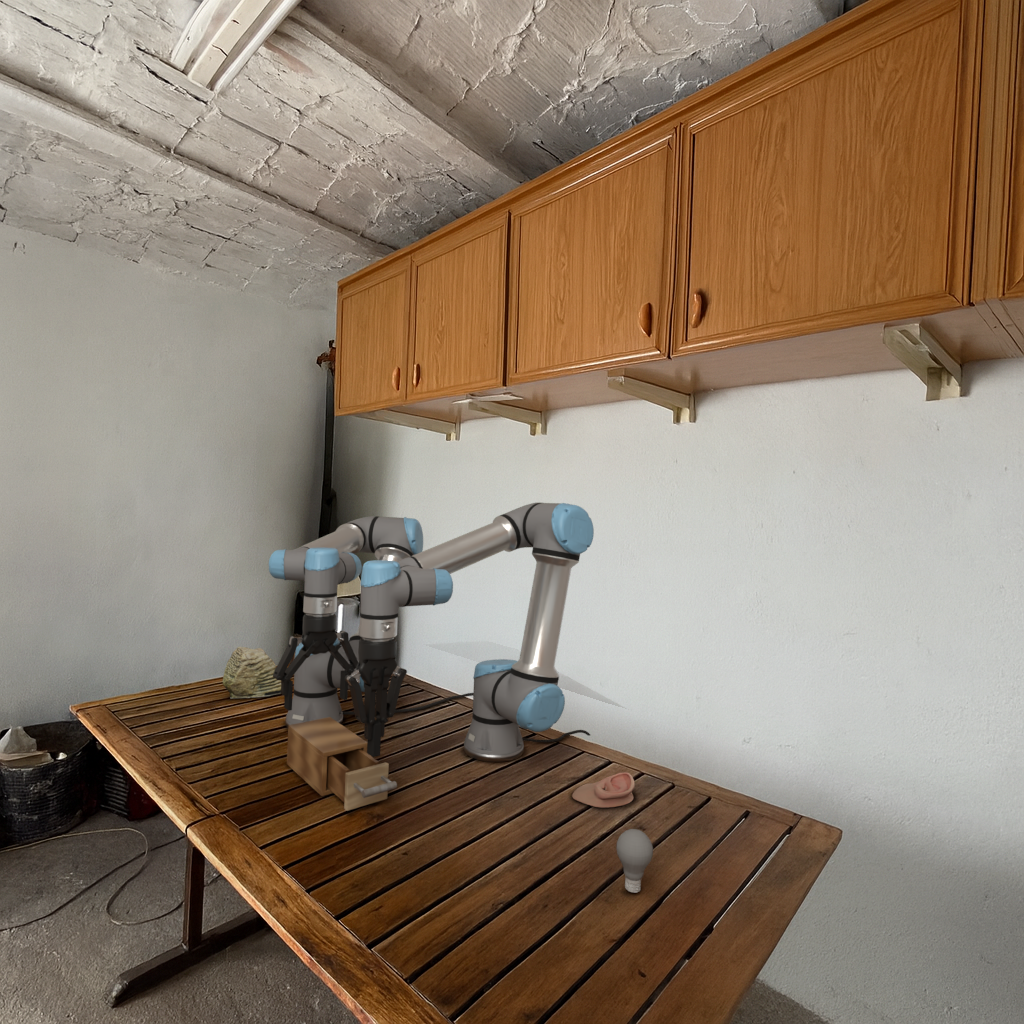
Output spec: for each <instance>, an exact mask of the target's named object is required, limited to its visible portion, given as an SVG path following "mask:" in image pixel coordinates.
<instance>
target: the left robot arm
mask: <svg viewBox="0 0 1024 1024" xmlns="http://www.w3.org/2000/svg"><path fill="white" fill-rule="evenodd" d="M423 551H424V533H423V527H422V524H421V523H420V521H419V520H418V519H416V518H410V517H407V516H404V517H397V516H396V517H394V516H378V515H371V516H363V517H359V518H356V519H354V520H353V519H352V520H350V521H348V522H345V523H343V524H341V525H339V526H338V527H337V528H336V530H335V531H333V532H331V533H329V534H326V535H324V536H322V537H319V538H317V539H314V540H313V541H310V542H307V543H305V544H303V545H301V546H299V547H297V548H294V549H287V548H286V549H276V550H274V551H273V552H272V553H271V555H270V557H269V560H268V572H269V574H270V575H271V577H272V578H274V579H276V580H284V581H299V582H304V592H303V608H302V612H303V613H304V614H303V616H302V634H301V636H293V635H289V637H288V640H287V646H286V648H285V650H284V651H283V654H282V656H281V658H280V660H279V662H278V663H277V665H276V669H275V671H274V673H273V677H274V678H275V679H277V680H281V693H280V695H282V696H283V698H284V699H283V701H284V702H283V708H284V709H285V710H287V713H286V715H285V726H286V728H288V725H292V724H297V723H302V722H307V721H312V720H317V719H322V718H327V717H331V718H332V719H334V720H335V721H337V722H338V723H340V724H341V725H342V723H343V722H344V716H348V715H349V716H351V715H352V716H353V715H354V716H355V713H354V711H343V709H342V706H341V702H340V699H341V700H343V701H348V697H349V695H348V694H349V691H350V687H349V685H348V683H347V682H346V680H345V676H346V675H351V674H352V673H354V672H355V671H356V667H357V665H358V662H359V657H358V651H359V640H360V639H361V638H362V637H360V636H359V626H360V623H359V625H358V628H357V631H356V633H354V634H352V635H350V636H349V633H348V632H347V631H345V630H340V631H339V632H336V631H337V630H336V629H337V615H336V614H335V613H336V612H337V609H338V588H339V587H338V585H343V584H348V583H351V582H352V581H355V580H356V579H357V578H358V577H359V576H360V574H362V569H363V565H362V561H361V559H360V558H359V556H358V555H356V554H357V553H366V554H374V557H375V558H376V560H388V561H396V562H398V561H400V560H402V559H405V558H408V557H410V556H413V555H415V554H418V553H420V552H423ZM293 657H294V658H293ZM292 659H293V660H292ZM292 678H293V680H291V679H292ZM389 680H391V677H390V678H389ZM359 685H360V688H361V692H362V693H365V688H364V681H363V679H362V678H361V677H360V683H359ZM338 690H339V695H338ZM471 696H472V697H473V692H468V693H464V694H463V693H462V694H458V695H451V696H449V697H445V698H442V699H440V700H437V701H433V702H431V703H428V704H426V705H421V706H417V707H410V708H399V709H395V713H394V714H397V713H407V712H409V713H410V712H415V711H421V710H426V709H428V708H431V707H433V706H437V705H439V704H442V703H446V702H448V701H451V700H454V699H455V700H456V699H462V698H465V697H467V698H468V697H471ZM339 698H340V699H339Z"/></svg>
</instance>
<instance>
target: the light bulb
mask: <svg viewBox="0 0 1024 1024" xmlns="http://www.w3.org/2000/svg"><path fill="white" fill-rule="evenodd" d="M615 849H616V854H617V857H618V859H619V861H620V863H621V865H622V867H623V873H624V874H623V875H624V876H625V878H624V888H625V890H627V891H628V892H630V893H634V894H635V893H639V892H640V891H641V889H642V887H641V886H642V879H643V877H644V875H645V871H646V868H647V867H648V866H649V864H650V863H651V861H652V859H653V855H654V847H653V843H652V841H651V838H649V836H648V835H647V834H646V833H645V832H643V831H642V830H641V829H636V828H629V829H627V830H625V831H623V832H622V833H621V834H620V835H619V837H618V839H617V841H616V847H615Z"/></svg>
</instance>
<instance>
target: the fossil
mask: <svg viewBox="0 0 1024 1024" xmlns="http://www.w3.org/2000/svg"><path fill="white" fill-rule="evenodd" d="M276 668H277V665H276V663H275V662H274V660H273V659H272V658H271V657H270V656H269V655H268V654H267V653H266V652H265V650H264V649H263V648H260V647H258V648H251V647H247V646H246V647H245V646H238V647H237V648H236V649H235V650H233V651H232V653H231V656H230V657H229V659H228V660H227V663H226V666H225V668H224V671H223V675H222V676H223V677H222V685H223V687H224V688H225V690H226V691H228V693H229V698H230V699H250V698H264V697H271V696H275V695H281V680H277V679H275V678H274V677H273V673H274V671H275V669H276Z"/></svg>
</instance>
